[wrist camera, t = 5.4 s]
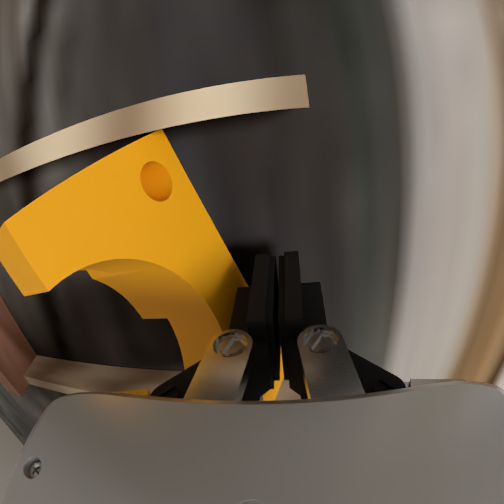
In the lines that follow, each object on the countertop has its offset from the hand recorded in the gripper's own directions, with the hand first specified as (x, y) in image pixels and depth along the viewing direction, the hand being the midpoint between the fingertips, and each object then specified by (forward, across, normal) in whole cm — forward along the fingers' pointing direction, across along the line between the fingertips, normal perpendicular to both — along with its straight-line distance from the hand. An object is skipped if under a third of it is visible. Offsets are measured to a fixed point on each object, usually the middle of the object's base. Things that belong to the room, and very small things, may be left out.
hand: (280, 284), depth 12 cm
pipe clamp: (+1, +4, 0) cm, 4 cm away
